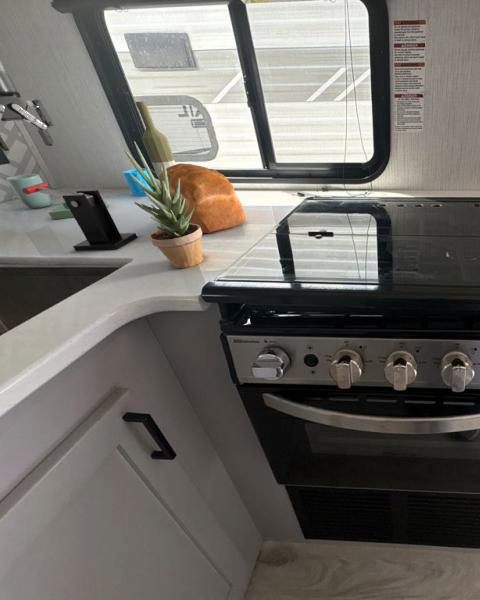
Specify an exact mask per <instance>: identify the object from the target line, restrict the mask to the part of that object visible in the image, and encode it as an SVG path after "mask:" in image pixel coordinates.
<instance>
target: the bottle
mask: <svg viewBox="0 0 480 600" xmlns="http://www.w3.org/2000/svg"><path fill="white" fill-rule="evenodd" d="M135 106H136V108H137V109H138V112H139V115H140V117H141V120H142V123H143V125H144V127H145V130H144V132H143V134H142V136H141V140H142V144H143V146H144V147H145V150H146V152H147V155H148V157H149V160H150V162H151V164H152V166H153V169H154V172H155V174H156V176H157V178H158V180H159V176H160V175H161V168H162V169H163V161H164V164H165V167H166V168H167V167H170V166H173V165H176V164H177V163H176V161H175V158H174V155H173V152H172V149H171V147H170V143H169V141H168V137H167V136H166V135H164V133H162V132H161V131H159V130H158V129H157V128H156V127H155V124H154V122H153V119H152V116H151V114H150V111H149V108H148V105H147V101H135ZM159 182H160V180H159Z"/></svg>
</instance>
